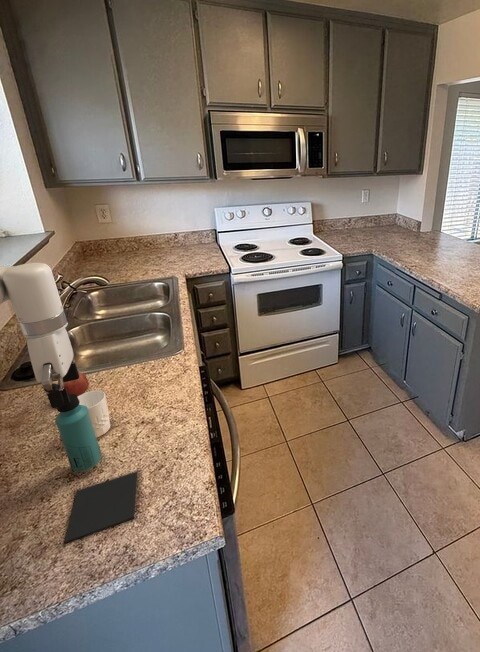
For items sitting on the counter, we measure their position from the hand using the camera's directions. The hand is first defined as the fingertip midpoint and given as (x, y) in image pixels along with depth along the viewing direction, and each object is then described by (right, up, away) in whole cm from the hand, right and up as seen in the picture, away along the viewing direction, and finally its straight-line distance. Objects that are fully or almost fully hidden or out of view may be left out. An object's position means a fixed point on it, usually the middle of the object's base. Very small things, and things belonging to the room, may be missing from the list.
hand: (66, 392), depth 79 cm
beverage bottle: (0, -20, +7) cm, 22 cm away
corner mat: (+10, -23, -2) cm, 26 cm away
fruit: (-20, -12, +32) cm, 39 cm away
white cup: (-5, -17, +18) cm, 25 cm away
